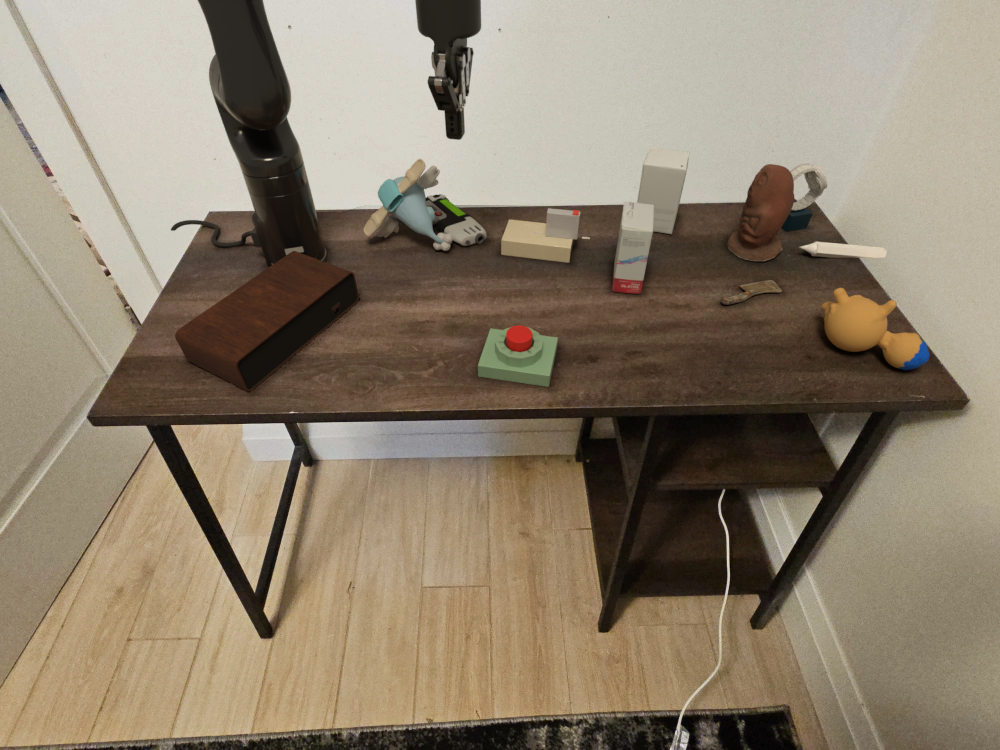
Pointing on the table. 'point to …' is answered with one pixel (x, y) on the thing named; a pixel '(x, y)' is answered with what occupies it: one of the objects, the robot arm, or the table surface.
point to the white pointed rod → (843, 250)
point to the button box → (518, 359)
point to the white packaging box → (663, 185)
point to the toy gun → (455, 221)
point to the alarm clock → (268, 319)
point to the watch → (816, 184)
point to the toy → (871, 330)
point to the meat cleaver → (752, 291)
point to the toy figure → (408, 205)
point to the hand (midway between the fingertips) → (455, 136)
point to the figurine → (764, 214)
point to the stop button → (519, 338)
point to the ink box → (633, 247)
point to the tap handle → (562, 223)
